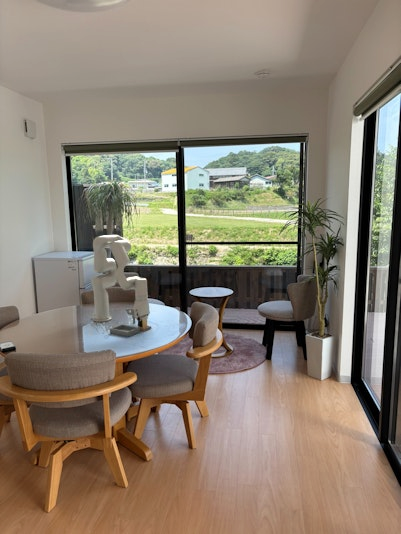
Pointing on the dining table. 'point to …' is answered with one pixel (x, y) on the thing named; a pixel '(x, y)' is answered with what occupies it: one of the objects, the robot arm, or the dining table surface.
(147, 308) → the robot arm
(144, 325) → the block
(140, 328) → the brown flat square frame
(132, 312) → the mechanical component
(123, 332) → the parts tray
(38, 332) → the dining table surface
